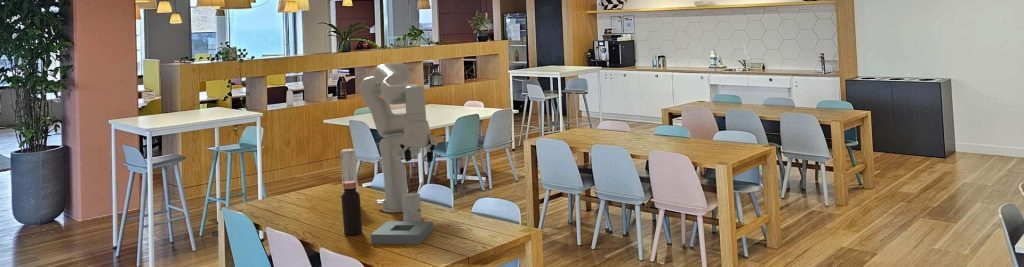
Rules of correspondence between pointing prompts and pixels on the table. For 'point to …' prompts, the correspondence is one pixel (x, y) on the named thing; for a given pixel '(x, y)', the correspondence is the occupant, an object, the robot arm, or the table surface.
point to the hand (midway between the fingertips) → (419, 161)
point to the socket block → (402, 232)
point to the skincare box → (411, 207)
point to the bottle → (351, 209)
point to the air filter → (348, 166)
